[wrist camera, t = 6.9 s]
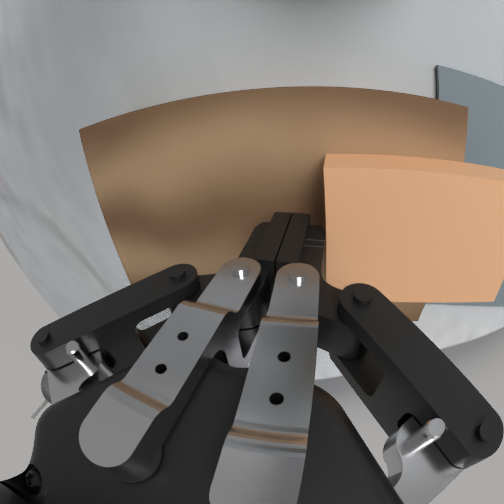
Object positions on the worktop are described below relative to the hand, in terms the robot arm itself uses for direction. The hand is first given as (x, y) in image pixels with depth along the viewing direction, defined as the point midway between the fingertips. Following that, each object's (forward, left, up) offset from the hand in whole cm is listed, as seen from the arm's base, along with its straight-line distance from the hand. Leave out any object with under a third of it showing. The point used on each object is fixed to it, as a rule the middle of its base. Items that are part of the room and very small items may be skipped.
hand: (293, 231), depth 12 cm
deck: (0, -2, -5) cm, 5 cm away
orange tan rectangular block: (-1, +6, -1) cm, 6 cm away
